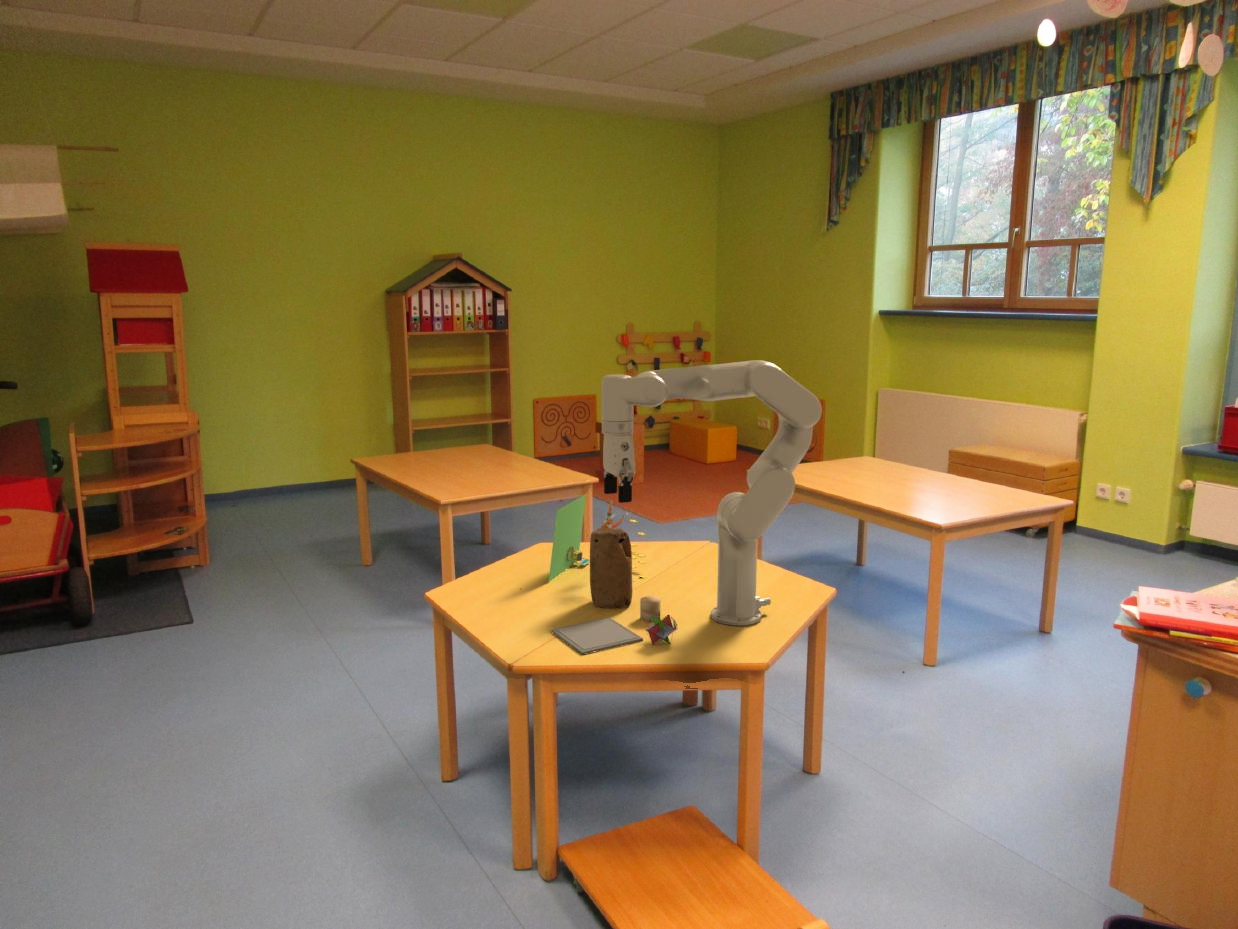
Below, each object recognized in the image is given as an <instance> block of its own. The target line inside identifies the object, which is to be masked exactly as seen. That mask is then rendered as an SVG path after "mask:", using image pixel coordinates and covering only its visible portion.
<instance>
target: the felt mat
mask: <svg viewBox="0 0 1238 929" xmlns="http://www.w3.org/2000/svg"><path fill="white" fill-rule="evenodd" d="M552 632H553V633H554V634H553V633H552ZM550 633H552V634H553V635H554V636H556V635H557V636H558V637H557V636H556V637H557V638H559V637H560V638H561V639H562V641H563V640H564V641H563V642H564V643H565V642H566V643H565V644H567V643H568V644H569V645H568V644H567V645H568V646H570V645H571V646H572V647H573V648H572V647H571V646H570V647H571V648H572V649H573V650H575V649H576V650H577V651H576V650H575V651H576V652H578V651H579V652H580V653H581V654H580V653H579V652H578V653H579V654H580V655H582V654H584V655H587V654H586V653H588V654H592V653H591V652H593V651H597V652H601V651H605V649H606V650H609V648H610V649H613V648H618V647H622V646H621V645H623V646H626V645H625V644H627V645H631V644H635V642H636V643H639V642H643V641H644V638H643V637H642V636H640V635H638V634H637V633H635V632H634V631H632V630H631V629H629V628H627V627H626V626H624V625H623V624H621V623H620V622H618V621H616V620H615V619H613V618H612V617H610V616H608V617H604V618H603V617H602V618H598V619H594V620H589V621H585V622H579V623H575V624H570V625H566V626H560V627H555V628H552V629H550ZM560 638H559V639H560ZM561 639H560V640H561ZM617 646H618V647H617ZM600 650H601V651H600ZM593 653H594V652H593Z"/></svg>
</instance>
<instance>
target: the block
mask: <svg viewBox="0 0 1238 929" xmlns="http://www.w3.org/2000/svg"><path fill="white" fill-rule="evenodd" d="M630 540H631V539H630V536H629V534H628V533H627V532H626V531H625V530H624V529H622V528H601V527H600V528H597V529H596V530H593V531H592V532H591V533H590V540H589V560H590V562H589V585H590V587H589V588H590V597H591V601H592V602H593V604H594V606H595V607H599V608H602V609H614V608H616V609H617V608H618V609H619V608H625V607H629V606H630V605H631V604H632V599H633V582H632V580H633V571H632V570H633V569H632V566H633V559H632V556H633V554H632V552H633V551H632V546H631V544H632V543H631V541H630Z"/></svg>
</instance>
